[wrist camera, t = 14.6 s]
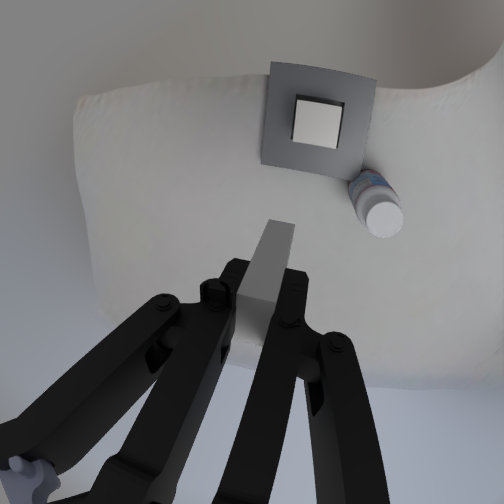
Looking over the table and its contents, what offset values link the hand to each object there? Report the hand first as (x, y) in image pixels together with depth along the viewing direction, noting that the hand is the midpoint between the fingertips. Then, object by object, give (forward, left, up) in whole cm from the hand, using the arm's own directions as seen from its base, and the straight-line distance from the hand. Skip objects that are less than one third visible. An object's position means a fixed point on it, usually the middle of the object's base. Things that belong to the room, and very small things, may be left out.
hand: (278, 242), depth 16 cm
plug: (-6, +1, -26) cm, 27 cm away
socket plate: (-5, +1, -26) cm, 27 cm away
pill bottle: (+3, +10, -27) cm, 28 cm away
